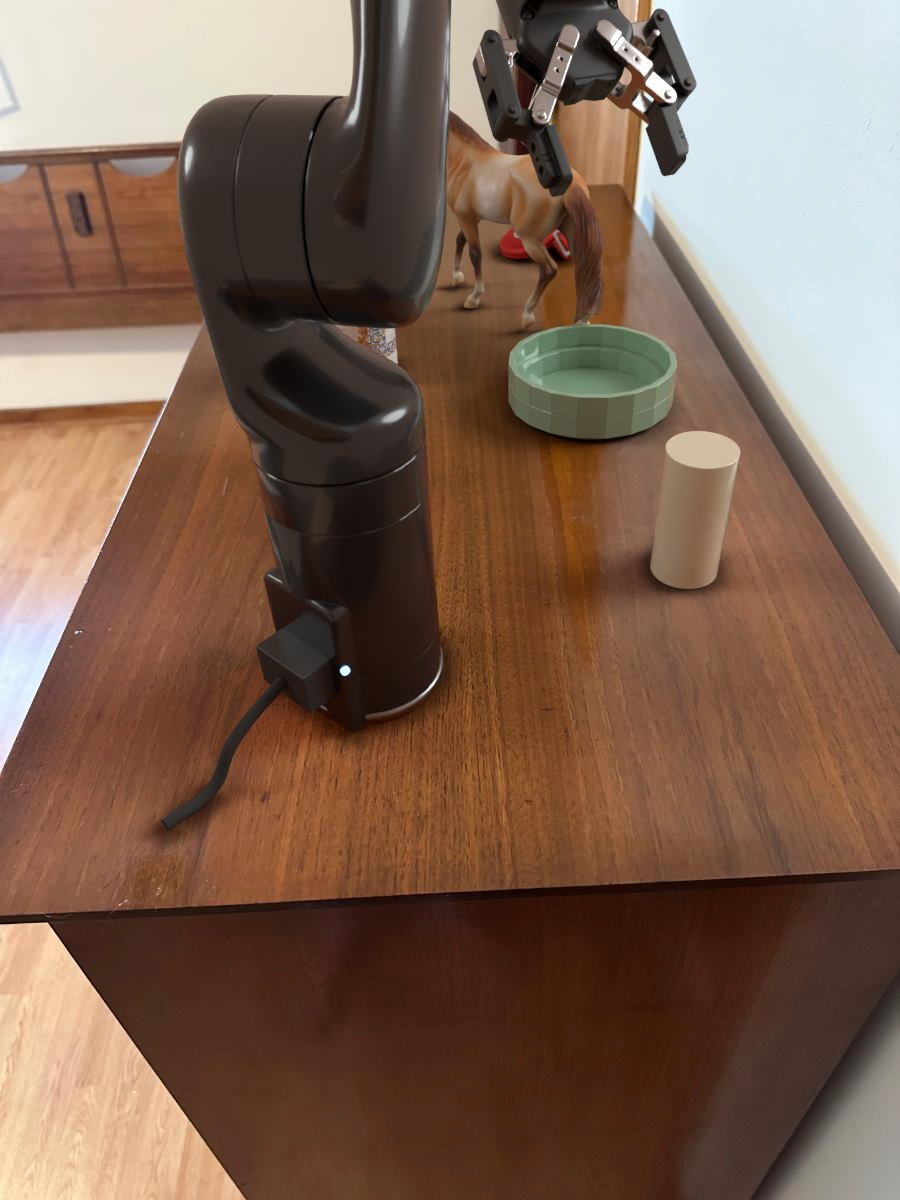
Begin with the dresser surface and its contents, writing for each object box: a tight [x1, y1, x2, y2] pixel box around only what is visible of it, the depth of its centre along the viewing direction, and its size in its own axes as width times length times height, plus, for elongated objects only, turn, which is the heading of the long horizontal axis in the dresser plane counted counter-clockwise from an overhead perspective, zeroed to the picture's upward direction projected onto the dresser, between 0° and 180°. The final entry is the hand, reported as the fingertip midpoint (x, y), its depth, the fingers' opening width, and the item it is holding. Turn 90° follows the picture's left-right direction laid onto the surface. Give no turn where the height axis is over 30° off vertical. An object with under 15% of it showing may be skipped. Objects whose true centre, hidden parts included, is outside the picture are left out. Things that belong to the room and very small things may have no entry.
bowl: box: [507, 323, 678, 440], centre depth 83 cm, size 15×15×4 cm
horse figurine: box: [447, 109, 605, 331], centre depth 94 cm, size 31×8×21 cm, turn 39°
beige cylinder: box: [649, 430, 742, 590], centre depth 61 cm, size 5×5×10 cm
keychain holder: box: [499, 227, 572, 261], centre depth 114 cm, size 12×4×10 cm
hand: (620, 179), depth 58 cm, fingers open, 8 cm apart
